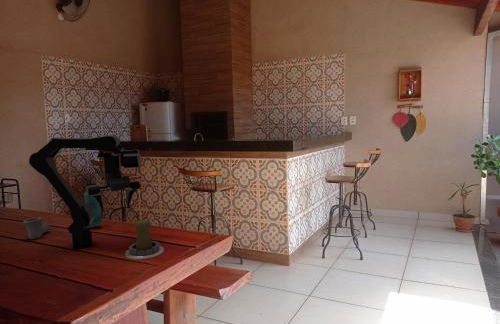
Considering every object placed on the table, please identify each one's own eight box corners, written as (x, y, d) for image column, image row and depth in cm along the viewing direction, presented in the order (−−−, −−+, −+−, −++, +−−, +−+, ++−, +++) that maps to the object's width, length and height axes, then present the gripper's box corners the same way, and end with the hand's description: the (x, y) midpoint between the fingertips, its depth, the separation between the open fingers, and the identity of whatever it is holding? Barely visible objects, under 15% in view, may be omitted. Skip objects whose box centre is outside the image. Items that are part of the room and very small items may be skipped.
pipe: (54, 231, 162) (52, 213, 162) (35, 241, 150) (33, 221, 149) (40, 231, 163) (38, 213, 162) (20, 241, 150) (18, 221, 149)
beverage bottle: (86, 227, 168) (82, 182, 166) (102, 225, 171) (98, 181, 168) (86, 230, 162) (82, 185, 160) (103, 228, 165) (99, 183, 162)
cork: (132, 251, 132) (130, 220, 131) (148, 246, 136) (146, 217, 135) (140, 255, 128) (138, 223, 127) (156, 250, 132) (154, 220, 131)
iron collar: (131, 262, 123) (130, 254, 123) (121, 251, 134) (120, 244, 134) (169, 253, 130) (168, 246, 130) (156, 244, 141) (156, 237, 141)
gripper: (89, 173, 129) (93, 218, 130) (143, 168, 139) (146, 209, 140) (83, 170, 138) (87, 212, 140) (134, 165, 148) (137, 204, 150)
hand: (115, 209), depth 142 cm, fingers open, 9 cm apart
